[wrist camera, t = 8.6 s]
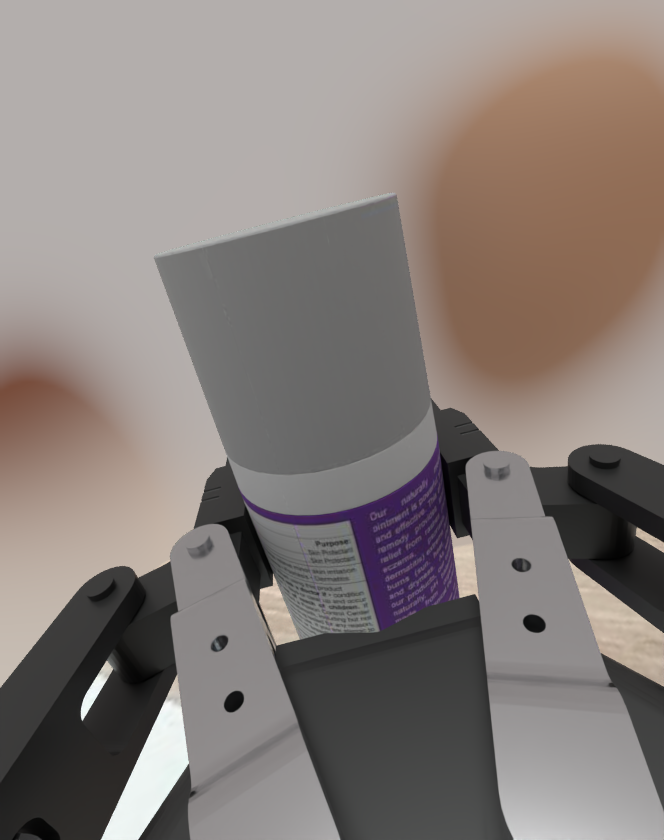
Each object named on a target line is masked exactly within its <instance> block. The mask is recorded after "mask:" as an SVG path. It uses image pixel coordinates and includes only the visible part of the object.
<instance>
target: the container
mask: <svg viewBox="0 0 664 840" xmlns="http://www.w3.org/2000/svg"><path fill="white" fill-rule="evenodd" d="M154 259H155V262H156V264H157V267H158V270H159V273H160V276H161V278H162V281H163V283H164V286H165V289H166V292H167V295H168V297H169V300H170V303H171V305H172V308H173V311H174V314H175V316H176V319H177V321H178V324H179V327H180V329H181V332H182V335H183V338H184V341H185V343H186V346H187V349H188V351H189V354H190V357H191V359H192V362H193V365H194V368H195V370H196V373H197V376H198V378H199V381H200V384H201V387H202V389H203V392H204V395H205V397H206V400H207V403H208V405H209V408H210V410H211V414H212V416H213V419H214V422H215V424H216V427H217V430H218V432H219V435H220V438H221V441H222V443H223V446H224V449H225V451H226V454H227V457H228V460H229V462H230V465H231V468H232V471H233V473H234V476H235V479H236V482H237V484H238V488H239V490H240V493H241V495H242V498H243V500H244V503H245V505H246V507H247V510H248V512H249V515H250V517H251V520H252V522H253V525H254V527H255V530H256V532H257V535H258V537H259V539H260V542H261V544H262V547H263V549H264V552H265V554H266V557H267V559H268V562H269V564H270V566H271V569H272V571H273V574H274V576H275V579H276V581H277V584H278V586H279V589H280V591H281V594H282V596H283V598H284V601H285V603H286V606H287V608H288V611H289V613H290V616H291V618H292V621H293V623H294V625H295V628H296V630H297V633H298V635H299V638H300V640H301V639H304V638H308V637H312V636H316V635H320V634H324V633H370V632H379V631H381V630H384V629H386V628H387V627H389V626H391V625H393V624H395V623H397V622H399V621H401V620H402V619H404V618H406V617H408V616H410V615H412V614H414V613H416V612H417V611H419V610H421V609H423V608H425V607H428V606H431V605H435V604H439V603H443V602H447V601H451V600H455V599H458V598H459V591H458V583H457V576H456V568H455V561H454V554H453V546H452V539H451V532H450V524H449V517H448V509H447V502H446V495H445V487H444V480H443V472H442V465H441V458H440V450H439V443H438V436H437V431H436V426H435V420H434V414H433V409H432V403H431V398H430V391H429V386H428V380H427V373H426V368H425V362H424V356H423V350H422V344H421V338H420V332H419V327H418V320H417V314H416V308H415V302H414V296H413V290H412V285H411V278H410V272H409V267H408V260H407V254H406V248H405V243H404V237H403V231H402V225H401V219H400V213H399V207H398V201H397V195H396V194H395V193H389V194H384V195H380V196H376V197H371V198H367V199H363V200H359V201H355V202H351V203H347V204H343V205H339V206H334V207H331V208H327V209H322V210H319V211H315V212H311V213H307V214H303V215H299V216H295V217H291V218H287V219H284V220H280V221H276V222H272V223H268V224H264V225H261V226H257V227H253V228H249V229H246V230H242V231H238V232H234V233H231V234H227V235H223V236H219V237H215V238H212V239H208V240H204V241H201V242H197V243H193V244H190V245H186V246H183V247H179V248H176V249H172V250H169V251H166V252H162V253H159V254H157V255H155V256H154Z"/></svg>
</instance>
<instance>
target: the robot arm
mask: <svg viewBox="0 0 664 840" xmlns="http://www.w3.org/2000/svg"><path fill="white" fill-rule="evenodd" d="M431 403H432V409H433V414H434V420H435V426H436V431H437V436H438V443H439V450H440V458H441V465H442V472H443V480H444V487H445V495H446V502H447V509H448V517H449V524H450V526H451V528H452V529H453V532H454V533H455V535H456V537H457V538H460V537H464V536H468V535H470V537H471V538H472V540H473V546H474V556H475V565H476V575H477V585H478V595H479V601H478V599H477V597H476V595H475V594H474V595H470V596H466V597H462V598H458V599H455V600H451V601H447V602H443V603H439V604H435V605H431V606H428V607H425V608H423V609H421V610H419V611H417V612H416V613H414V614H412V615H410V616H408V617H406V618H404V619H402V620H401V621H399V622H397V623H395V624H393V625H391V626H389V627H387V628H386V629H384V630H381V631H379V632H370V633H324V634H320V635H316V636H312V637H308V638H304V639H301V640H297V641H293V642H289V643H285V644H281V645H278V646H277V645H276V642H275V640H274V637H273V635H272V632H271V630H270V627H269V625H268V622H267V620H266V617H265V614H264V612H263V609H262V607H261V605H260V603H259V596H260V589H262V588H266V587H269V586H273V571H272V569H271V566H270V564H269V562H268V559H267V557H266V554H265V552H264V549H263V547H262V544H261V542H260V539H259V537H258V535H257V532H256V530H255V527H254V525H253V522H252V520H251V517H250V515H249V512H248V510H247V507H246V505H245V503H244V500H243V498H242V495H241V493H240V490H239V488H238V484H237V482H236V479H235V476H234V473H233V471H232V468H231V465H230V462H229V460H228V457H227V462H226V466H224V467H220V468H216V469H215V471H214V472H213V473H212V474H211V475H210V477H209V478H208V479H207V481H206V485H205V489H204V493H203V496H202V502H201V504H200V508H199V511H198V515H197V519H196V522H195V526H194V529H193V530H191V531H190V532H188V533H187V534H185V535H184V536H182V537H181V538H180V539H179V540H178V541H177V542H176V544H175V545H174V546H173V548H172V550H171V553H170V562H168V563H167V564H165V565H163V566H161V567H159V568H157V569H155V570H153V571H151V572H149V573H147V574H145V575H143V576H141V577H139V578H138V577H137V575H136V574H135V572H134V571H133V570H132V569H131V568H130V567H126V566H119V567H114V568H110V569H108V570H105V571H103V572H101V573H99V574H98V575H96V576H94V577H93V578H92V579H90V580H89V581H88V582H86V583H85V584H84V585H83V586H82V587H81V588H80V589H79V590H78V591H77V593H76V594H75V595H74V596H73V598H72V599H71V600H70V601H69V603H68V604H67V605H66V606H65V608H64V609H63V610H62V611H61V613H60V614H59V615H58V616H57V618H56V619H55V620H54V621H53V623H52V624H51V625H50V626H49V628H48V629H47V630H46V631H45V633H44V634H43V635H42V637H41V638H40V639H39V640H38V642H37V643H36V644H35V645H34V646H33V648H32V649H31V650H30V651H29V653H28V654H27V655H26V657H25V658H24V659H23V660H22V662H21V663H20V664H19V665H18V667H17V668H16V669H15V670H14V672H13V673H12V674H11V675H10V677H9V678H8V679H7V680H6V682H5V683H4V684H3V685H2V687H1V688H0V840H101V838H102V836H103V834H104V832H105V829H106V827H107V825H108V823H109V821H110V819H111V816H112V814H113V812H114V810H115V808H116V806H117V803H118V801H119V799H120V797H121V795H122V793H123V790H124V788H125V786H126V784H127V782H128V780H129V777H130V775H131V773H132V771H133V769H134V767H135V764H136V762H137V760H138V758H139V756H140V753H141V751H142V749H143V747H144V745H145V743H146V740H147V738H148V736H149V734H150V732H151V730H152V727H153V725H154V723H155V721H156V719H157V717H158V714H159V712H160V710H161V708H162V706H163V703H164V701H165V699H166V697H167V695H168V693H169V690H170V688H171V686H172V684H173V682H174V680H175V677H176V675H178V683H179V690H180V698H181V706H182V713H183V721H184V729H185V736H186V744H187V751H188V759H189V764H188V766H187V767H186V769H185V770H184V772H183V773H182V775H181V776H180V778H179V779H178V781H177V782H176V784H175V785H174V787H173V788H172V790H171V791H170V793H169V794H168V796H167V797H166V799H165V800H164V802H163V803H162V805H161V806H160V808H159V809H158V811H157V812H156V814H155V815H154V817H153V818H152V820H151V821H150V823H149V824H148V826H147V827H146V829H145V830H144V832H143V833H142V835H141V836H140V838H139V839H138V840H664V687H663V686H661V685H659V684H657V683H656V682H654V681H652V680H650V679H648V678H646V677H644V676H643V675H641V674H639V673H637V672H635V671H633V670H631V669H629V668H628V667H626V666H624V665H622V664H620V663H618V662H616V661H615V660H613V659H611V658H609V657H607V656H605V655H603V654H602V653H600V650H599V647H598V644H597V642H596V639H595V636H594V633H593V630H592V627H591V624H590V621H589V618H588V615H587V613H586V610H585V607H584V604H583V601H582V598H581V595H580V592H579V589H578V586H577V584H576V581H575V578H574V575H573V572H572V569H571V566H570V563H569V560H570V561H571V562H572V564H574V565H575V566H576V567H577V568H578V569H580V570H581V571H582V572H584V573H585V574H586V575H588V576H589V577H590V578H592V579H593V580H594V581H596V582H597V583H598V584H600V585H601V586H602V587H604V588H605V589H606V590H608V591H609V592H610V593H611V594H613V595H614V596H615V597H617V598H618V599H619V600H621V601H622V602H623V603H625V604H626V605H627V606H629V607H630V608H631V609H633V610H634V611H635V612H637V613H638V614H639V615H641V616H642V617H643V618H644V619H646V620H647V621H648V622H650V623H651V624H652V625H654V626H655V627H656V628H658V629H659V630H660V631H662V632H663V633H664V553H663V552H662V551H660V550H658V549H657V548H655V547H653V546H652V545H650V544H648V543H647V542H645V541H643V540H642V539H640V538H638V537H637V536H636V528H637V527H638V528H640V529H642V530H643V531H645V532H647V533H648V534H650V535H652V536H654V537H655V538H657V539H659V540H661V541H662V542H664V465H662V464H660V463H657V462H655V461H653V460H651V459H648V458H646V457H643V456H641V455H639V454H637V453H634V452H632V451H630V450H627V449H624V448H621V447H618V446H612V445H601V444H600V445H599V444H598V445H588V446H583V447H580V448H578V449H576V450H574V451H573V452H572V453H571V454H570V455H569V457H568V466H566V467H546V468H535V467H529V464H528V463H527V461H526V460H525V459H524V458H522V457H521V456H519V455H517V454H514V453H511V452H505V451H499V450H498V449H497V448H496V447H495V446H494V445H493V444H492V443H491V442H490V441H489V439H488V438H487V437H486V436H485V435H484V434H483V433H482V432H481V431H479V429H478V428H477V427H476V426H475V424H473V423H472V421H471V420H470V419H469V418H468V417H467V416H466V415H465V414H464V413H462V412H460V411H457V410H455V409H452V408H448V409H444V410H440V409H439V408H438V406H437V405H436V404H435V403H434V401H433V400H432V399H431ZM568 559H569V560H568ZM106 661H108V662H109V664H110V665H111V666H112V668H113V671H112V673H111V674H110V676H109V678H108V679H107V681H106V683H105V684H104V686H103V688H102V689H101V691H100V693H99V694H98V696H97V698H96V699H95V701H94V703H93V704H92V706H91V708H90V710H89V711H88V713H87V715H86V716H85V718H84V720H83V721H82V720H81V706H82V702H83V699H84V697H85V695H86V693H87V691H88V690H89V688H90V686H91V685H92V683H93V681H94V680H95V678H96V677H97V675H98V673H99V672H100V670H101V669H102V667H103V665H104V664H105V662H106Z"/></svg>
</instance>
